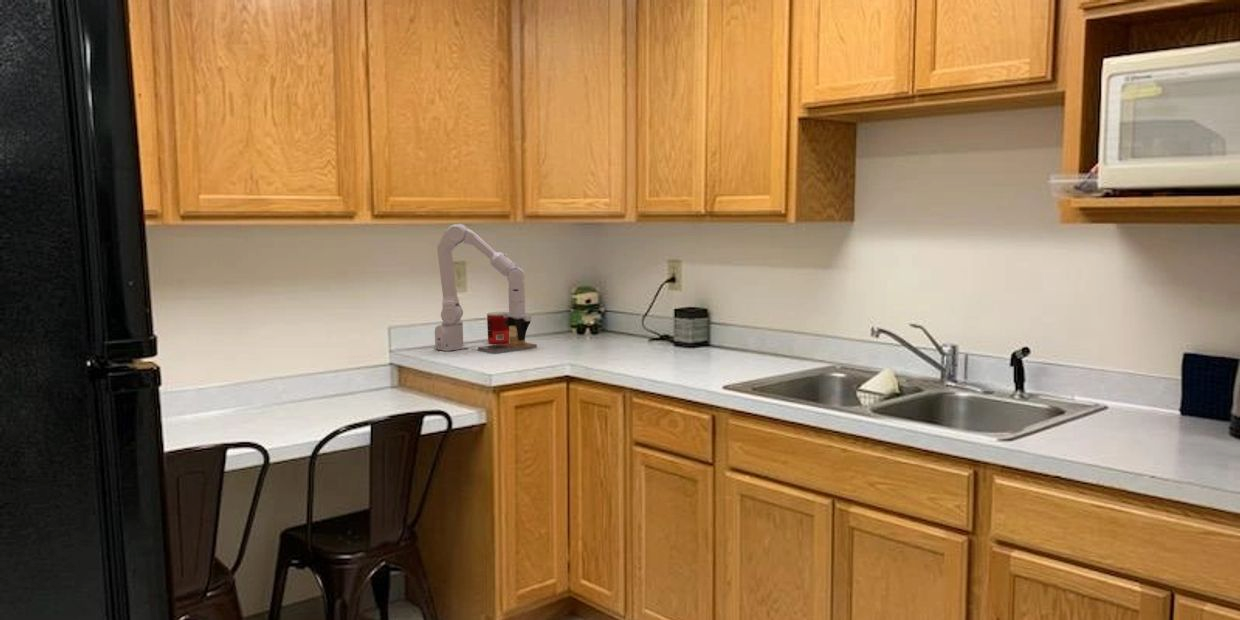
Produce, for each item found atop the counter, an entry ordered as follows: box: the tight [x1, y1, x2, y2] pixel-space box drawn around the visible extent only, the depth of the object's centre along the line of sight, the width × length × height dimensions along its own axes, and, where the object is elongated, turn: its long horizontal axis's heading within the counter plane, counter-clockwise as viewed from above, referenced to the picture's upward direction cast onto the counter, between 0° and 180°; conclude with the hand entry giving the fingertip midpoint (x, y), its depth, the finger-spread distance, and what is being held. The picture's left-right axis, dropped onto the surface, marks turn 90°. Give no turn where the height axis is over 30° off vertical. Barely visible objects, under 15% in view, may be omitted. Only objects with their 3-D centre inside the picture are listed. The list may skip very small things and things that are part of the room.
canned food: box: [486, 311, 510, 345], centre depth 334 cm, size 8×8×11 cm
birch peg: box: [509, 325, 526, 346], centre depth 321 cm, size 4×4×7 cm
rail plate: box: [477, 341, 538, 355], centre depth 319 cm, size 18×10×1 cm, turn 131°
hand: (517, 339), depth 322 cm, fingers closed on birch peg, 4 cm apart
